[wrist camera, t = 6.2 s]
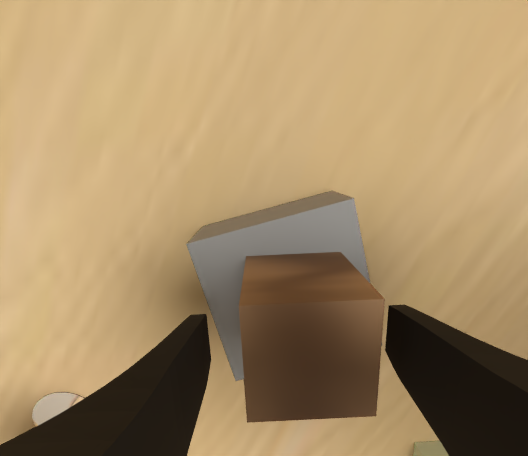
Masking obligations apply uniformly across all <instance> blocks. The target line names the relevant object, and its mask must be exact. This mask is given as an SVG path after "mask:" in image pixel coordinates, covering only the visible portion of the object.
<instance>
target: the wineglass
mask: <svg viewBox="0 0 528 456" xmlns="http://www.w3.org/2000/svg"><path fill="white" fill-rule="evenodd" d="M83 399H85V398H83V397H81V396H79V395H75V394H71V393H66V392H65V393H53V394H50V395H47V396H44V397H43V398H42V399H40V400H39V401H38V402H37V403H36V405H35V407H34V408H33V414H32V419H33V422H34V425H35V427H36V426H38V425H40V424H42V423H44V422H45V421H47V420H49V419H51V418H53V417H54V416H56V415H58V414H60V413H62V412H63V411H65V410H67V409H68V408H70V407H71V406H73V405H75V404H76V403H78V402H80V401H81V400H83Z"/></svg>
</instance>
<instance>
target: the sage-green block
mask: <svg viewBox="0 0 528 456" xmlns="http://www.w3.org/2000/svg"><path fill="white" fill-rule="evenodd" d="M413 456H449V455H448V453H447V452H446V450H445V448H444V447H443V445H442V443H441V442H440V441H429V442H415V444H414V453H413Z"/></svg>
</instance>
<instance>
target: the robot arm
mask: <svg viewBox="0 0 528 456" xmlns="http://www.w3.org/2000/svg"><path fill="white" fill-rule="evenodd" d="M385 351H386V353H387V355H388V357H389V359H390V361H391V364H392V366H393V368H394V369H395V371H396V373H397V375H398V377H399V379H400V380H401V382H402V383H403V385H404V386H405V388H406V390H407V391H408V393H409V394H410V396H411V397H412V399H413V400H414V402H415V403H416V405H417V406H418V408H419V410H420V411H421V413H422V414H423V416H424V417H425V419H426V420H427V422H428V423H429V425H430V426H431V428H432V429H433V431H434V432H435V434H436V435H437V437H438V438H439V440H440V442H441V443H442V445H443V447H444V448H445V450H446V452H447V453H448V455H449V456H528V360H526V359H523V358H520V357H518V356H515V355H513V354H510V353H508V352H506V351H503V350H501V349H499V348H496V347H494V346H492V345H489V344H487V343H485V342H483V341H480V340H478V339H476V338H474V337H472V336H470V335H467V334H465V333H463V332H461V331H459V330H457V329H455V328H453V327H451V326H449V325H447V324H445V323H443V322H441V321H439V320H437V319H434V318H432V317H430V316H428V315H426V314H424V313H422V312H420V311H418V310H416V309H414V308H411V307H409V306H406V305H390V306H389V310H388V322H387V335H386V348H385ZM210 362H211V354H210V344H209V335H208V326H207V316H206V314H200V315H190V316H189V317H188V318H187V319H186V320H184V321H183V322H182V323H181V324H180V325H179V326H178V327H177V328H176V329H175V330H174V331H173V332H172V333H170V334H169V335H168V336H167V337H166V338H165V339H164V340H163V341H162V342H160V343H159V344H158V345H157V346H156V347H155V348H154V349H152V350H151V351H150V352H149V353H147V354H146V355H145V356H144V357H143V358H141V359H140V360H139V361H138V362H136V363H135V364H134V365H133V366H131V367H130V368H129V369H128V370H126V371H125V372H123V373H122V374H121V375H119V376H118V377H116V378H115V379H114V380H112V381H111V382H109V383H108V384H106V385H105V386H104V387H102V388H101V389H99V390H97V391H96V392H94V393H93V394H91V395H89V396H88V397H86V398H85V399H83V400H81V401H80V402H78V403H76V404H75V405H73V406H71V407H70V408H68V409H67V410H65V411H63V412H62V413H60V414H58V415H56V416H54V417H53V418H51V419H49V420H47V421H45V422H44V423H42V424H40V425H38V426H36V427H34V428H32V429H31V430H29V431H27V432H25V433H23V434H21V435H19V436H17V437H15V438H13V439H11V440H9V441H7V442H5V443H3V444H1V445H0V456H187V453H188V449H189V446H190V442H191V439H192V435H193V432H194V428H195V425H196V421H197V418H198V414H199V411H200V407H201V404H202V400H203V397H204V393H205V390H206V386H207V381H208V375H209V369H210Z"/></svg>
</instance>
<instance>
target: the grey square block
mask: <svg viewBox="0 0 528 456" xmlns="http://www.w3.org/2000/svg"><path fill="white" fill-rule="evenodd" d="M186 245H187V247H188V250H189V253H190V256H191V258H192V261H193V264H194V267H195V269H196V272H197V275H198V278H199V281H200V283H201V286H202V289H203V292H204V294H205V297H206V300H207V303H208V305H209V308H210V311H211V314H212V316H213V319H214V322H215V325H216V328H217V330H218V333H219V336H220V339H221V341H222V344H223V347H224V350H225V352H226V355H227V358H228V361H229V363H230V366H231V369H232V372H233V374H234V377H235V380H236V381H238V380H242V379H244V372H243V358H242V344H241V331H240V317H239V300H240V294H241V287H242V281H243V274H244V267H245V261H246V256H259V255H281V254H303V253H325V252H341V253H342V254H343V255H344V256H345V257H346V258H347V259H348V260H349V261H350V262H351V263H352V264H353V266H354V267H355V268H356V269H357V270H358V271H359V272H360V273H361V274H362V275H363V276H364V277H365V278H366V280H367V281H368V282H369V283H370V279H369V274H368V269H367V264H366V258H365V253H364V248H363V243H362V238H361V233H360V227H359V222H358V217H357V212H356V207H355V201H354V198H351V197H349V196H346V195H343V194H340V193H337V192H334V191H329V192H325V193H322V194H318V195H314V196H311V197H307V198H304V199H300V200H296V201H293V202H289V203H285V204H282V205H278V206H274V207H271V208H267V209H263V210H260V211H256V212H253V213H249V214H245V215H242V216H238V217H234V218H231V219H227V220H223V221H220V222H216V223H212V224H209V225H205V226H203V227H202V228H201V229H200V230H199V231H198V232H197V233H196V234H195V235H194V236H193V237H192V238H191V239H190V241H189V242H188V243H187V244H186ZM381 345H382V343H381Z"/></svg>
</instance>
